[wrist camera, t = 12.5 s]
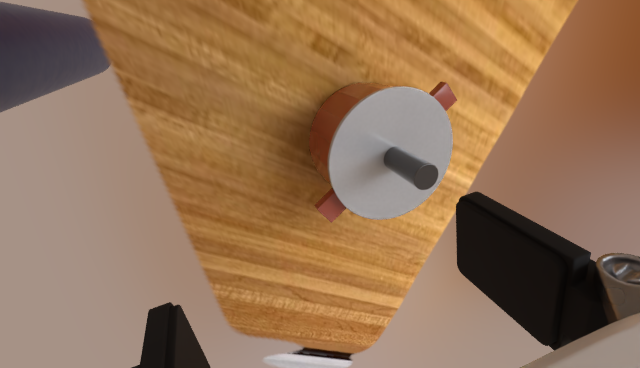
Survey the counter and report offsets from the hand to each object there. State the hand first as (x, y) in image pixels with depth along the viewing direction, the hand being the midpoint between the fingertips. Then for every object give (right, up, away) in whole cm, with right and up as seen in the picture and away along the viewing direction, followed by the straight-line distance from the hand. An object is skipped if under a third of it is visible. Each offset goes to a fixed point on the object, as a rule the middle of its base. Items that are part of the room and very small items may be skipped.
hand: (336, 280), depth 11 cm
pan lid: (+7, +6, +24) cm, 25 cm away
